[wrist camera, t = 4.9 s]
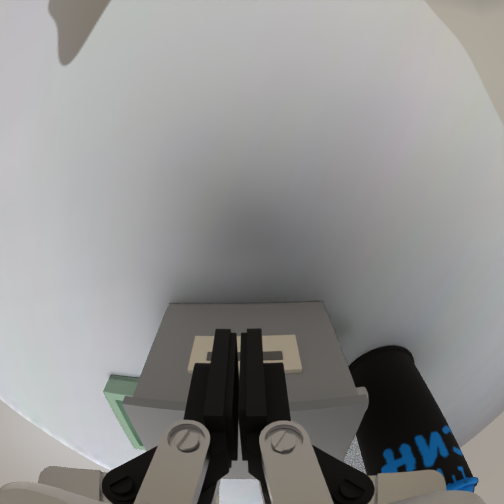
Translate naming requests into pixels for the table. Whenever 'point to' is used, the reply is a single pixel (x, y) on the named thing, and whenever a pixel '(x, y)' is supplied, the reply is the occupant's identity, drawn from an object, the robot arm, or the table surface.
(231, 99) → the table surface
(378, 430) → the aerosol can
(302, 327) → the box
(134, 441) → the tray
